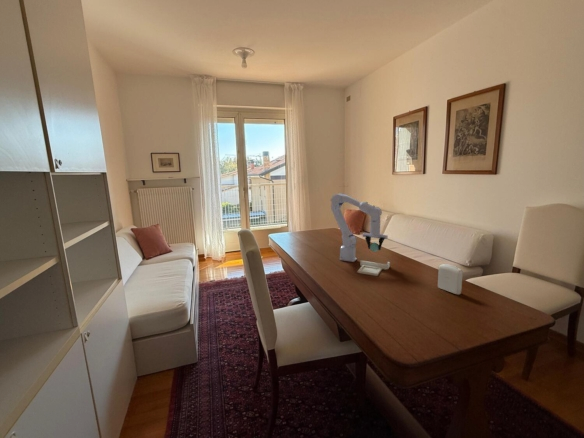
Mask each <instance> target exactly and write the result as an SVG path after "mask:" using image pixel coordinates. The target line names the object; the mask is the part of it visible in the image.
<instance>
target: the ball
mask: <svg viewBox="0 0 584 438" xmlns="http://www.w3.org/2000/svg"><path fill="white" fill-rule="evenodd" d="M369 250H371V251H372V252H377V251H380V250H379V243H377V242H376V241H375V242H370V249H369Z"/></svg>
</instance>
